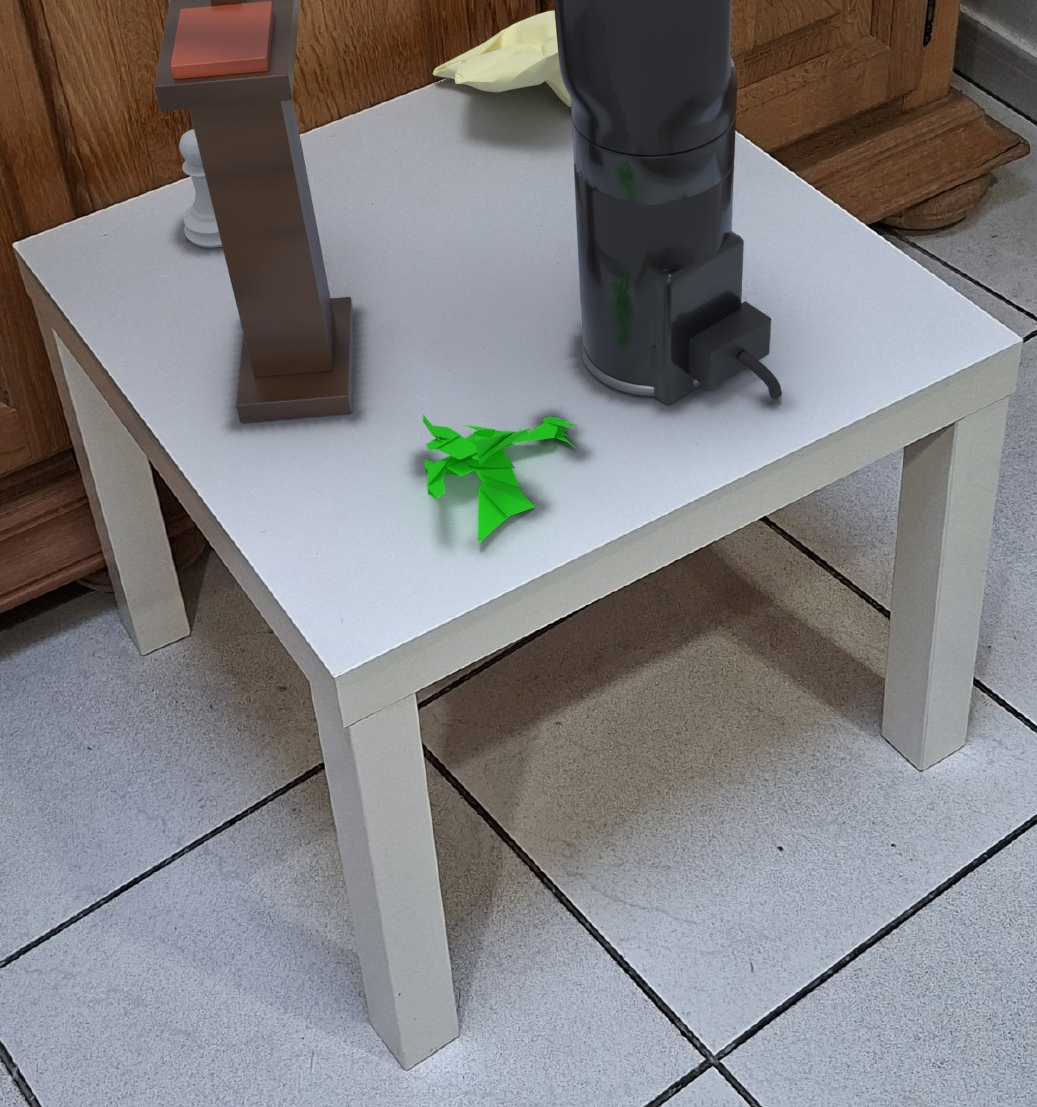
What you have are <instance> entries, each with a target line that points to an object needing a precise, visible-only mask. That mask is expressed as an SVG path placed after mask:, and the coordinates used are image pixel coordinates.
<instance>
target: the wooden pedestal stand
mask: <svg viewBox="0 0 1037 1107" xmlns="http://www.w3.org/2000/svg"><path fill="white" fill-rule="evenodd" d="M264 1H272V4H273V9H274V22H273V32H272V43H271V53H270V64H269V71H262V72H251V73H240V74H229V75H217V76H206V77H195V78H184V79H174V78H173V74H172V70H171V61H172V56H173V50H174V44H175V38H176V33H177V27H178V21H179V15H180V10H181V9H186V8H197V7H209V6H212V5H211V0H169V4H168V9H167V13H166V14H167V15H166V20H165V25H164V31H163V36H162V41H161V46H160V52H159V58H158V63H157V69H156V75H155V80H154V85H153V89H154V93H155V97H156V101H157V105H158V108H159V111H160V112H169V111H170V112H171V111H181V110H182V111H183V110H189V115H190V119H191V124H192V127H193V128H192V129H194V132H195V136H196V140H197V144H198V148H199V152H200V156H201V161H202V165H203V169H204V173H205V177H206V181H207V185H208V189H209V194H210V198H211V202H212V206H213V210H214V214H215V218H216V222H217V226H218V231H219V235H220V239H221V243H222V247H221V248H222V251H223V254H224V255H223V256H224V260H225V263H226V264H225V265H226V267H227V272H228V276H229V279H230V284H231V288H232V293H233V296H234V301H235V304H236V308H237V313H238V316H239V321H240V325H241V329H242V330H241V331H242V340H241V341H242V342H241V350H240V361H239V372H238V381H237V392H236V403H235V408H236V411H237V416H238V418H239V422H240V424H246V423H257V422H269V421H281V420H291V419H292V420H293V419H302V418H304V419H305V418H315V417H316V418H317V417H327V416H336V415H337V416H338V415H348V414H352V412H353V376H354V375H353V373H354V372H353V371H354V370H353V369H354V328H355V324H354V323H355V312H354V306H353V301H352V300H353V299H352V297H351V296H341V297H340V296H339V297H331V294H330V288H329V282H328V277H327V271H326V266H325V261H324V256H323V251H322V245H321V241H320V240H321V239H320V235H319V229H318V224H317V219H316V213H315V208H314V203H313V197H312V192H311V188H310V181H309V176H308V171H307V166H306V161H305V155H304V149H303V145H302V140H301V134H300V130H299V129H300V128H299V124H298V123H299V122H298V118H297V113H296V108H295V107H296V106H295V103H294V97H293V95H294V84H295V83H294V82H295V69H296V57H297V56H296V55H297V44H298V43H297V42H298V30H299V29H298V28H299V15H300V14H299V13H300V2H299V0H245V3H253V2H264Z"/></svg>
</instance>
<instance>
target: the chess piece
mask: <svg viewBox="0 0 1037 1107" xmlns="http://www.w3.org/2000/svg"><path fill="white" fill-rule="evenodd" d="M178 144H179V146H178V149H179V151H180V154H181V156H182V157H183V159H184V160H185V161H184V162H183V163H182V166H181V168H182V171H183V173H185V175H188V176H190V177H191V181H192V183H193V187H194V190H195V195H194V196H195V197H194V202H193V203H192V205H191V206H190V207H189V208H188V209H187V210H186V211H185V213H184V215H183V222H184V230H183V232H184V235H185V237H186V238H187V239H188V240H189V241H190V242H192V243H193V244H195V245H197V246H199V247H202V248H210V249H212V248H223V247H222V243H221V239H220V235H219V231H218V226H217V222H216V218H215V214H214V210H213V206H212V202H211V198H210V194H209V189H208V185H207V181H206V177H205V173H204V169H203V165H202V161H201V156H200V152H199V148H198V144H197V140H196V136H195V132H194V128H192V129H189V130H188V131H186V132H184V133H183V134H182V135H181V137H180V140H179V143H178Z"/></svg>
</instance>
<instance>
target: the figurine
mask: <svg viewBox="0 0 1037 1107" xmlns="http://www.w3.org/2000/svg"><path fill="white" fill-rule="evenodd" d="M542 420H543V423H542V424H540V425H538V426H537V427H535V428H534V426H531V427H529V428H525V429H521V430H517V431H508V430H496V428H489V427H482V426H477V425H465V424H462V426H463V427H465V428H468V429H472V430H474V431H473V433H471V434H470V435H468V436H466V437H464V436H462V435H461V434H460V433H459V432H457V431H456V430H454V429H452V428H451V427H449V426H441V425H433V423H431V422H430V421H429V419H428V418H427V417H426V416H425V415H424V414H422V424H424V426H425V427H426V428H427V431H429V432H430V434H431V435H432V436H433V437H434V439H433V440H430V441H429V442H427V443H425V446H426V448H427V449H428V451H429V452H433V451H435V450H437V451H439V452H442V453H444V454H446V455H449V456H446V457H444V458H442V459H440V460H437V461H431V460H430V459H426V458H424V468H425V469H426V471H427V473H426V476H427V478H426V487H427V489H426V492H427V493H426V494H427V496H429V497H431V498H433V499H435V500H438V499H439V498H440V497H441V496H442V495H443V494H445V493H446V487H445V481H444V480H445V479H444V478H445V477H446V476H448V477H449V476H450V477H463V476H466V475H467V474H470V473H472V472H475V473H476V475H477V477H478V478H479V480H480V482H481V484H480V486H478V509H477V511H478V512H477V542H479V543H482V541H483V540H484V539H485V538H486V537H487V536H489V535H490V534H491V533H492V532H494V530H496V529H497V528H498V527H499V526H500V525H501V524H502V523H504V522H505V521H506V520H507V519H508V518H509V517H511V516H514V515H516V514H519V513H522V512H525V511H527V510H531V509H533V508H535V505H534V504H533V503H532V502H531V501H530V500H529V499H528V498H527V496H526V495H524V493H523V492H522V491H521V490H520V489H519V488H520V484H519V481H518V479H517V477H516V474H515V471H514V469H515V468H516V467H515V466H514V464H513V463H512V461H511V459H510V458H509V456H508V455H507V453H506V452H505V450H504V449H507V448H509V447H513V446H515V444H517V443H526V442H533V441H540V440H541V441H542V440H548V439H556V440H560V441H562V442H565V443H568V444H569V445H570V446H572V447H573V448H575V445H573V444H572V443H571V442H570V441H569V440H568V439H567V438H566V437H568V434H567V433H566V432H568V430H567V429H566V428H571V427H577V426H578V424H575V423H571V422H568V420H566V419H562V418H559V417H555V416H547V417H545V418H543V419H542ZM564 427H566V428H564ZM533 428H534V429H533ZM530 430H531V431H530Z"/></svg>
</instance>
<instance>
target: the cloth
mask: <svg viewBox="0 0 1037 1107" xmlns="http://www.w3.org/2000/svg"><path fill="white" fill-rule="evenodd" d="M432 75H433V76H435V77H440V78H444V79H445V78H446V79H452V80H454V83H455V84H456V85H466V86H469V87H472V88H474V89H477V90H480V91H482V92H490V93H501V92H506V91H511V90H515V89H516V90H517V89H522V88H527V87H533V86H538V85H542V84H543V83H544V82H545V83H546V84H547V85H548V86H549V87H550V88H551V89H552V90H553V92H554V93H555V94H556V95H557V97H558V98H559V99H560V100H561V102H563V103H564V104H565V105H566V106H567V107H568V108H571V99H570V95H569V93H568V92H567V90H566V88H565V85H564V83H563V80H562V76H561V72H560V65H559V57H558V45H557V34H556V23H555V11H554V10H547V11H545V12H541V13H537V14H535V15H532V16H530V17H527V18H524V19H522V20H520V21H517V22H515V23H513V24H511V25H509V26H508V27H506V28H504V29H501V30H500V31H499V32H498V33H496V34H495V35H493V36H492V37H491V38H489V39H487V40H486V41H484V42H483V43H481V44H479V45H477V46H475V47H473V48H471V49H469V50H468V51H465V52H464V53H462V54H460V55H458V56H456V57H454V58H452V59H450V60H448V61H446V62H444V63H442V64H440V65H438V66H437V67H435V68H434V70H433V72H432Z"/></svg>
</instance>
